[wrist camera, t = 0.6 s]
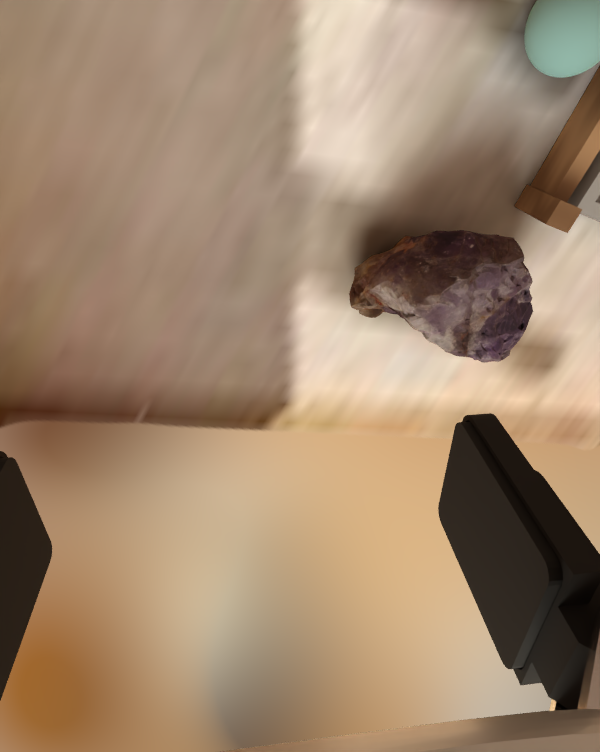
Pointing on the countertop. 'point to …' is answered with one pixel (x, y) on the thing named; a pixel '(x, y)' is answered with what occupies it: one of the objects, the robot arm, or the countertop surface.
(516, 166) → the countertop surface
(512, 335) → the rock
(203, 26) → the countertop surface
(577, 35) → the ball
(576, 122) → the rail
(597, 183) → the dish
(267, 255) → the countertop surface
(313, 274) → the countertop surface
